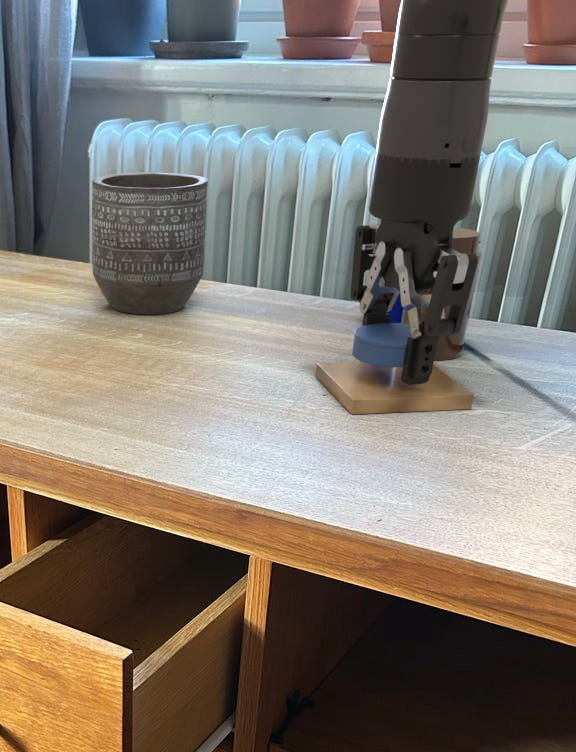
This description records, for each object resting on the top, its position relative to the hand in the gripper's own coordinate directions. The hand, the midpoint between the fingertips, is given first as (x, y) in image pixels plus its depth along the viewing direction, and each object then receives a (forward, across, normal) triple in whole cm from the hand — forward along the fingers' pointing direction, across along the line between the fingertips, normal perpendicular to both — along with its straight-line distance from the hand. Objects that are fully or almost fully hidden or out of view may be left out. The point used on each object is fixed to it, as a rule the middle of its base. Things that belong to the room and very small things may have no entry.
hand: (392, 369), depth 80 cm
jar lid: (-3, 0, 0) cm, 3 cm away
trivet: (+2, 0, 0) cm, 2 cm away
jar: (+2, -9, +10) cm, 14 cm away
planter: (+2, -34, -10) cm, 36 cm away
